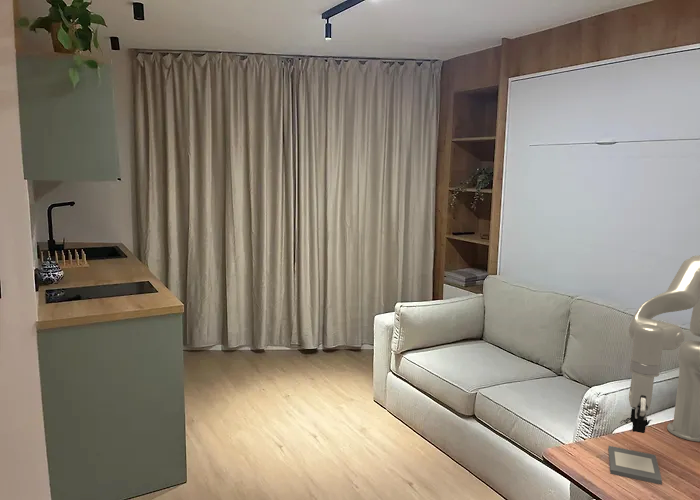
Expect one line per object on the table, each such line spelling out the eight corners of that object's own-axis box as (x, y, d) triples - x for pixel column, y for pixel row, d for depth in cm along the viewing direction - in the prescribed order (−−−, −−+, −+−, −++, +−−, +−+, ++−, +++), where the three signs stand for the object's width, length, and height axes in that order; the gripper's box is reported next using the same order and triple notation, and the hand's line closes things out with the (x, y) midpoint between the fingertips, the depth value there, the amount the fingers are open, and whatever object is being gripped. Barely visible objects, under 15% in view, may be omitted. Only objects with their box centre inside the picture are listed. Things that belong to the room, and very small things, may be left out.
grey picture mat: (608, 449, 177) (608, 445, 177) (655, 458, 172) (655, 454, 172) (610, 473, 162) (610, 469, 162) (661, 484, 157) (662, 480, 157)
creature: (623, 435, 163) (654, 435, 161) (623, 417, 162) (653, 417, 160) (616, 422, 170) (645, 422, 168) (616, 405, 169) (644, 405, 168)
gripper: (628, 357, 172) (621, 413, 174) (632, 374, 156) (625, 436, 158) (655, 361, 169) (648, 418, 172) (663, 379, 153) (655, 442, 156)
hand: (637, 426), depth 165 cm, fingers closed on creature, 6 cm apart
